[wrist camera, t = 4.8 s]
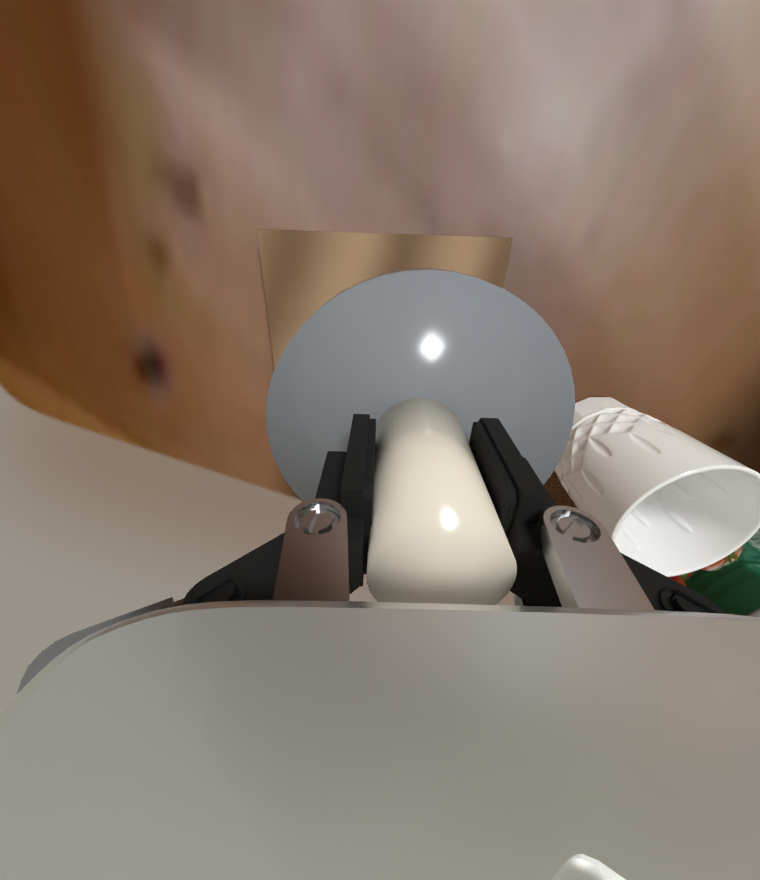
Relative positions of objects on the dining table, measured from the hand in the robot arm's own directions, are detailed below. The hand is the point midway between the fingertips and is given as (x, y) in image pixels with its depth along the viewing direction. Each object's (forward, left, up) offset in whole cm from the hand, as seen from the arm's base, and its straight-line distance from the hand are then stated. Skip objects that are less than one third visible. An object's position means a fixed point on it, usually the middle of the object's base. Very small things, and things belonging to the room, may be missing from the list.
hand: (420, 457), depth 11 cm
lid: (0, 0, -2) cm, 2 cm away
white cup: (-15, +6, -14) cm, 21 cm away
